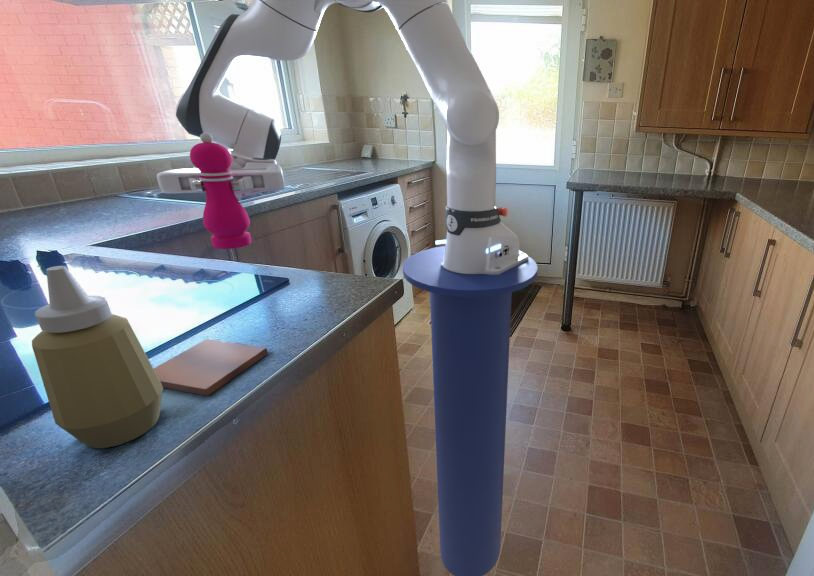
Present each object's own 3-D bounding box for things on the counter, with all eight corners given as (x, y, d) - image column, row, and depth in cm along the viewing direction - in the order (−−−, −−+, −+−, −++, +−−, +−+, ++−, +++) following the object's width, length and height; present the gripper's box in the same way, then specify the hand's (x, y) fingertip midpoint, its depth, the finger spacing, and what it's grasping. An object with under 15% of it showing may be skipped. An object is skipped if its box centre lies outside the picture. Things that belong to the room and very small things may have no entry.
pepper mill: (239, 236, 82) (214, 131, 74) (263, 242, 80) (239, 133, 72) (201, 246, 76) (169, 132, 68) (225, 252, 74) (194, 134, 66)
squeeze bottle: (116, 465, 38) (37, 290, 31) (45, 451, 40) (-47, 280, 33) (191, 409, 46) (141, 257, 39) (129, 399, 47) (70, 250, 40)
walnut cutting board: (209, 344, 58) (207, 338, 58) (268, 353, 57) (266, 347, 56) (140, 383, 50) (137, 376, 49) (207, 396, 48) (205, 389, 48)
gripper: (165, 160, 79) (138, 169, 68) (283, 159, 87) (278, 167, 75) (175, 192, 82) (150, 207, 70) (289, 189, 89) (284, 201, 78)
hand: (217, 186), depth 73 cm, fingers closed on pepper mill, 5 cm apart
